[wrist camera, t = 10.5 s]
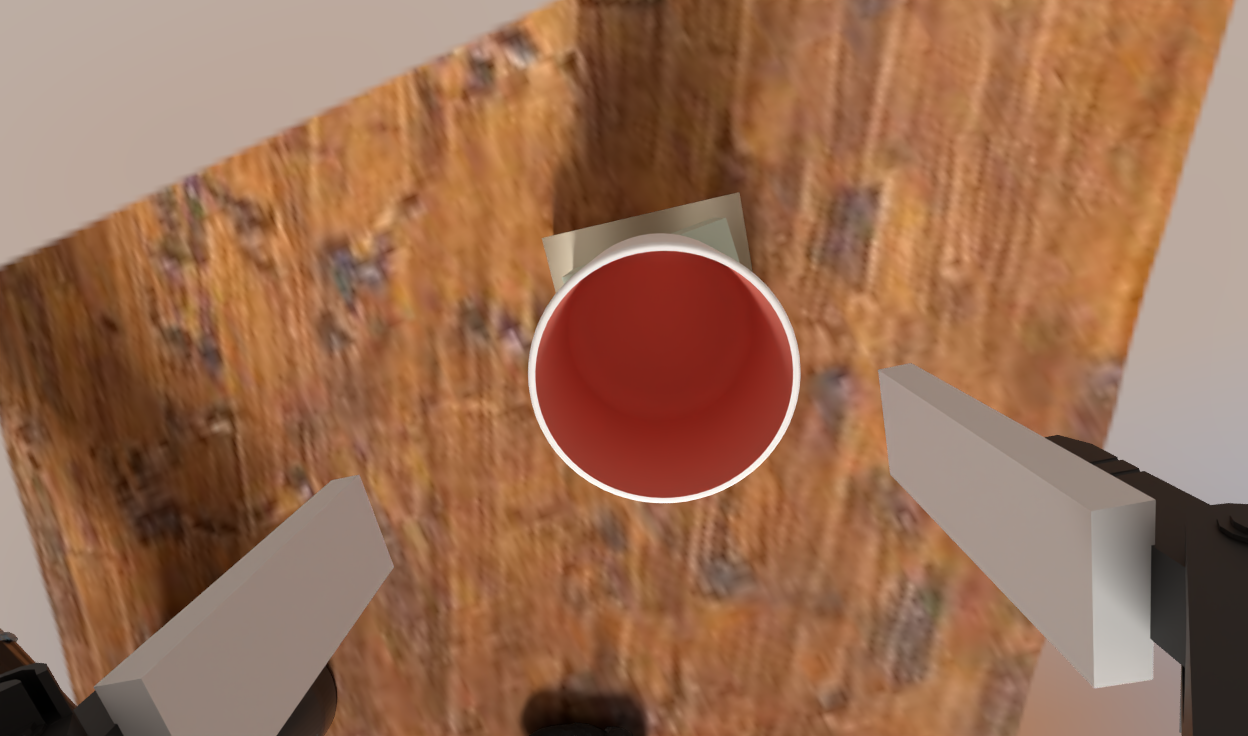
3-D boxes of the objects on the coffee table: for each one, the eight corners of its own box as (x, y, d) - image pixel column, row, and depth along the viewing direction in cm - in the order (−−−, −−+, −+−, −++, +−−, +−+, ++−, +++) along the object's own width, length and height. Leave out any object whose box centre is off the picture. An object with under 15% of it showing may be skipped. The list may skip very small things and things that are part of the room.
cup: (546, 253, 30) (497, 273, 20) (738, 214, 29) (782, 214, 19) (588, 430, 32) (561, 523, 23) (765, 399, 31) (816, 482, 22)
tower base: (594, 397, 42) (588, 421, 38) (554, 235, 39) (541, 238, 35) (756, 364, 41) (771, 384, 36) (727, 194, 38) (739, 192, 33)
